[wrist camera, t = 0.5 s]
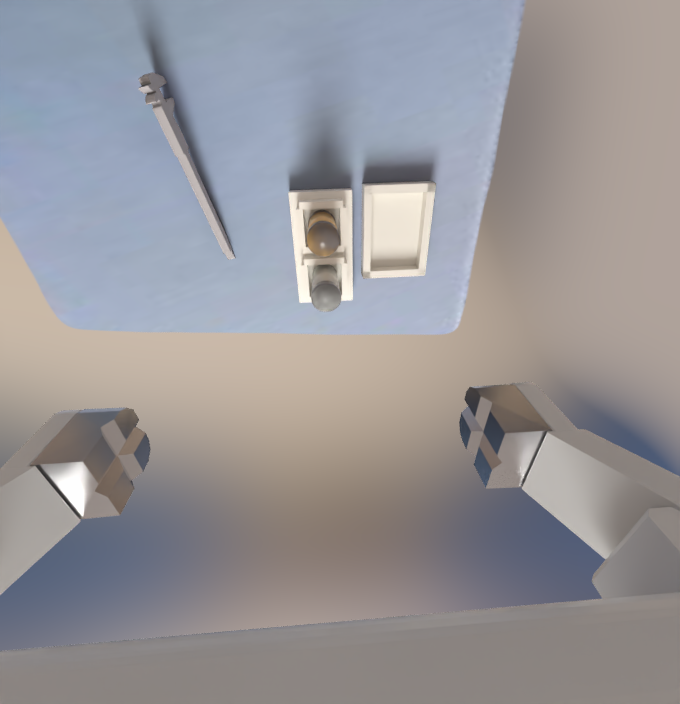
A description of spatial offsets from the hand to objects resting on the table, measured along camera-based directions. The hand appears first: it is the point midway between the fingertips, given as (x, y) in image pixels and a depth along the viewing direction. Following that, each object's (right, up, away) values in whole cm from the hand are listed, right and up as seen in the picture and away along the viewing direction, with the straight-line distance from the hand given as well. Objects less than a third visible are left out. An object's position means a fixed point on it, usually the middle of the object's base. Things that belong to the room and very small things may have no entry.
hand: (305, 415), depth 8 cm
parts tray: (+8, +19, +38) cm, 43 cm away
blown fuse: (-2, +18, +35) cm, 39 cm away
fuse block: (-2, +17, +38) cm, 42 cm away
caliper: (-17, +24, +33) cm, 44 cm away
